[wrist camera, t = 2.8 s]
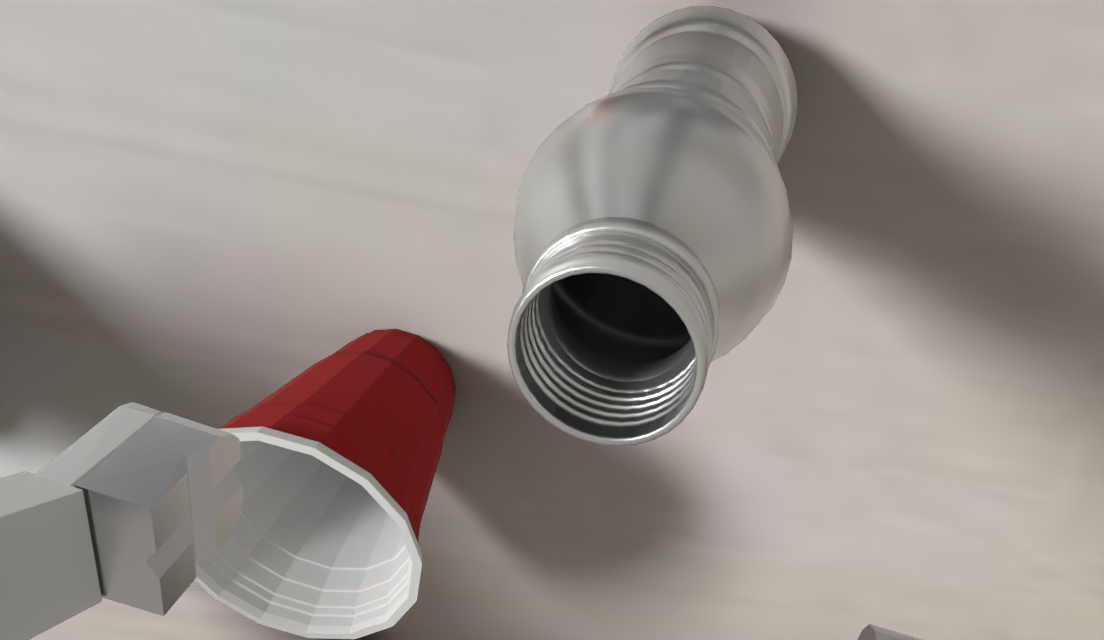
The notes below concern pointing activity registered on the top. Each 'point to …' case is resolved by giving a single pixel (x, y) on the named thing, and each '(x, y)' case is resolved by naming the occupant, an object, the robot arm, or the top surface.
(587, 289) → the plastic bottle
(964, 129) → the top surface
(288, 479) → the plastic cup
